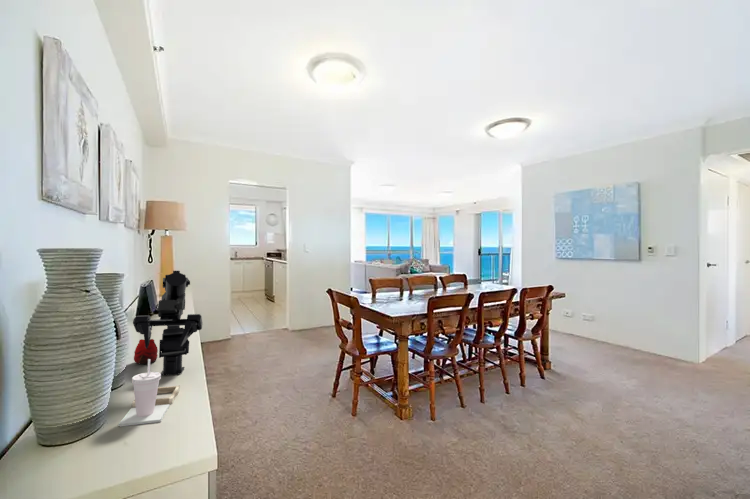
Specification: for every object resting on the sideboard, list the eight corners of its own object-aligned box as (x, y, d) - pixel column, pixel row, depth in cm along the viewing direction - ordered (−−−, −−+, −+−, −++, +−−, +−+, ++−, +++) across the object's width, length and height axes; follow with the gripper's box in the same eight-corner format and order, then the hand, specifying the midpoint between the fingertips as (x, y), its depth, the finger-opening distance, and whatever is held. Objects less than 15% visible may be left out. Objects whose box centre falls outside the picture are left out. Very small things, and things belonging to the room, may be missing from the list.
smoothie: (145, 420, 86) (147, 364, 86) (123, 417, 87) (125, 361, 87) (165, 409, 92) (167, 356, 92) (145, 406, 93) (147, 354, 93)
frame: (143, 393, 103) (143, 388, 103) (179, 390, 106) (179, 385, 106) (132, 407, 94) (132, 402, 94) (172, 403, 97) (172, 398, 97)
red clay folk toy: (159, 359, 135) (160, 320, 136) (154, 364, 129) (155, 324, 129) (136, 360, 133) (137, 321, 133) (130, 366, 126) (131, 325, 126)
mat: (131, 410, 92) (131, 408, 92) (169, 406, 95) (169, 404, 95) (118, 426, 84) (118, 424, 84) (160, 421, 87) (160, 419, 87)
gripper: (135, 290, 107) (121, 333, 97) (202, 289, 113) (195, 330, 103) (143, 311, 115) (130, 353, 104) (205, 309, 121) (198, 349, 110)
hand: (163, 346), depth 105 cm, fingers open, 9 cm apart
